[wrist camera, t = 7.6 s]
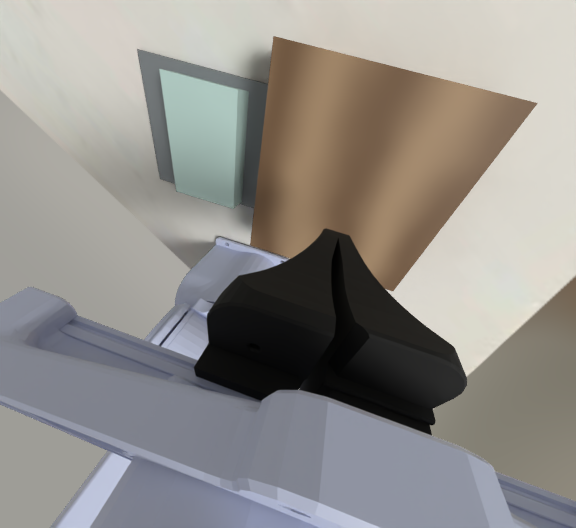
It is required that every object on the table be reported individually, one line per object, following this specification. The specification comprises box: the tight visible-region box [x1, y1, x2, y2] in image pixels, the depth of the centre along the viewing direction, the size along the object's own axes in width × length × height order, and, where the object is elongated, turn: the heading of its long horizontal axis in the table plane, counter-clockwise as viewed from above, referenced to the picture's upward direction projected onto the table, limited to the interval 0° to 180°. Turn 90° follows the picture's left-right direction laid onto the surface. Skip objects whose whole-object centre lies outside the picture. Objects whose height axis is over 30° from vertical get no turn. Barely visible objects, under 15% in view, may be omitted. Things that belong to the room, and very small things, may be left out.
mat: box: [137, 49, 268, 208], centre depth 19 cm, size 12×10×1 cm
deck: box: [250, 36, 537, 291], centre depth 17 cm, size 14×14×4 cm
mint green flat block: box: [159, 69, 249, 209], centre depth 18 cm, size 6×9×2 cm, turn 168°
